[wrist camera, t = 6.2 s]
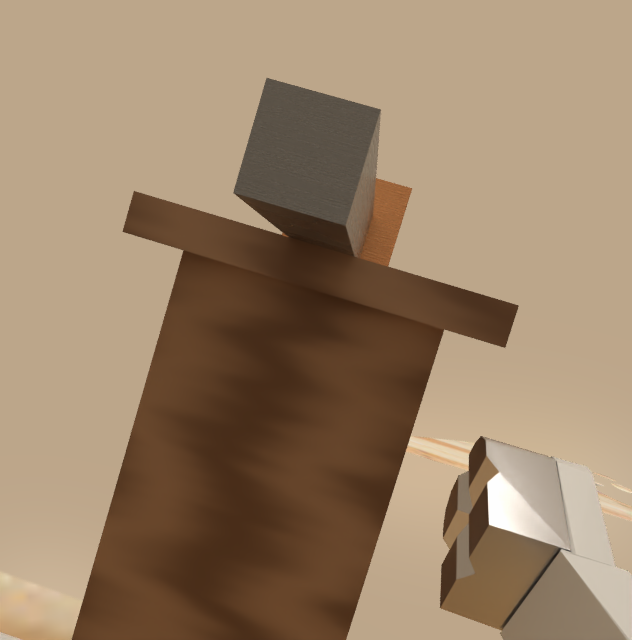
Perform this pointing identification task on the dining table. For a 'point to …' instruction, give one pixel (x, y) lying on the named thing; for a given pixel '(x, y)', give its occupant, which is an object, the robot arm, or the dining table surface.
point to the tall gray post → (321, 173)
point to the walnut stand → (266, 433)
